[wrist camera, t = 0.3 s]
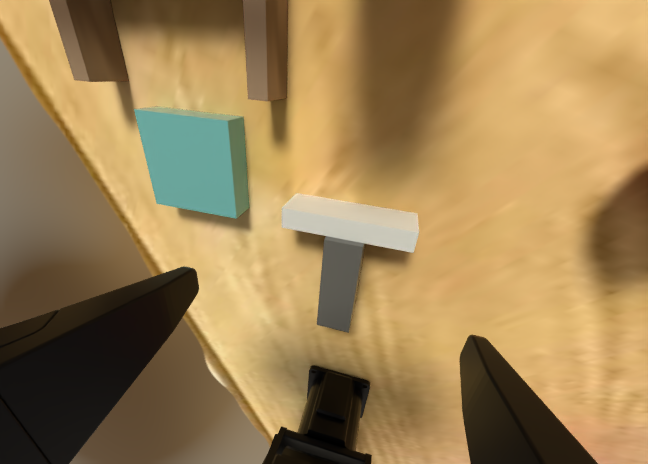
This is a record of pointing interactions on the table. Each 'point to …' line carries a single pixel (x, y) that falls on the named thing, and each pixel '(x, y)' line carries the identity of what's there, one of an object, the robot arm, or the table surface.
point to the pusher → (347, 246)
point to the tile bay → (107, 59)
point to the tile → (196, 159)
